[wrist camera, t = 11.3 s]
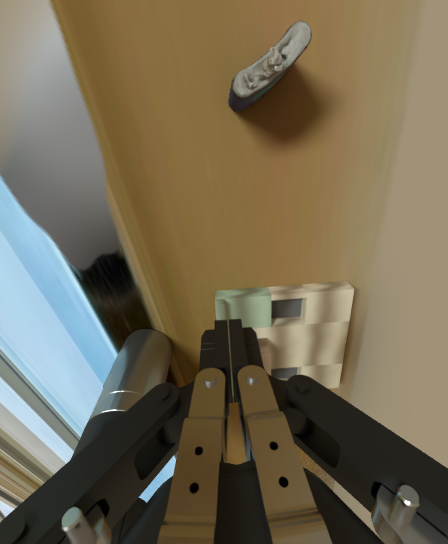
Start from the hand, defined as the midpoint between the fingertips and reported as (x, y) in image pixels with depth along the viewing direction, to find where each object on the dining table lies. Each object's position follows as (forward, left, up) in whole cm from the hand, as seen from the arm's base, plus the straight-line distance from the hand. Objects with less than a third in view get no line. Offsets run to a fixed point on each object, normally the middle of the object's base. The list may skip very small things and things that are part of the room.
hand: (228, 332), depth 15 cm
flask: (+14, +11, -29) cm, 34 cm away
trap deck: (-4, -27, -29) cm, 40 cm away
